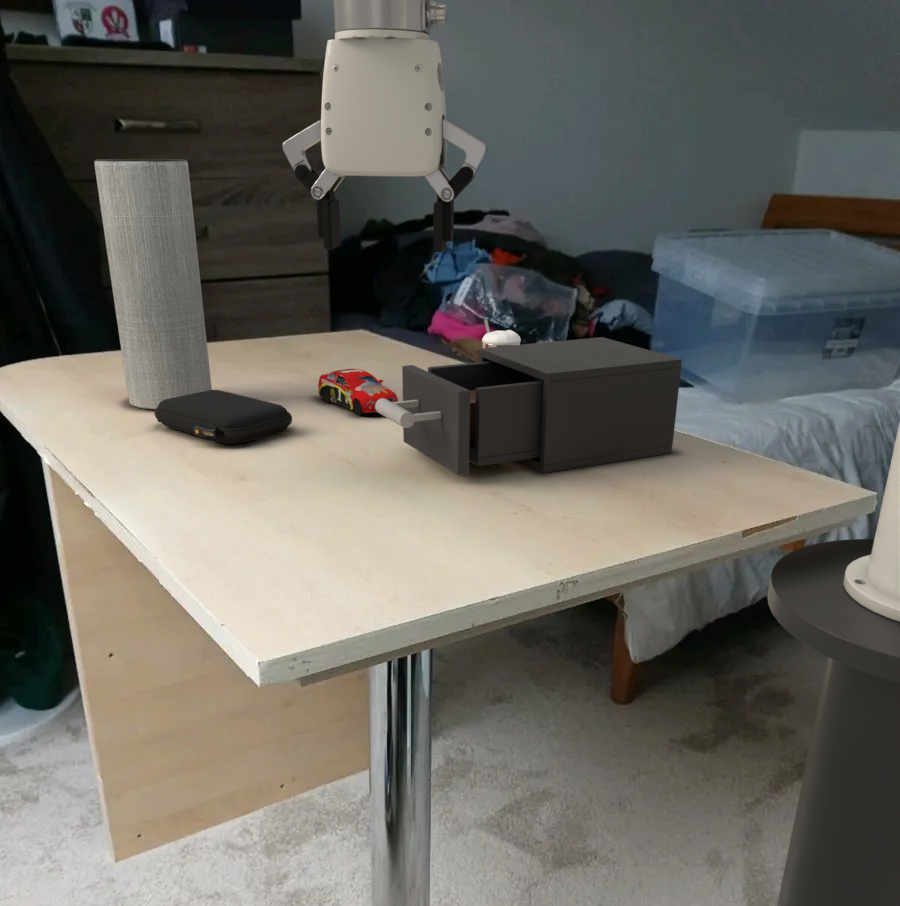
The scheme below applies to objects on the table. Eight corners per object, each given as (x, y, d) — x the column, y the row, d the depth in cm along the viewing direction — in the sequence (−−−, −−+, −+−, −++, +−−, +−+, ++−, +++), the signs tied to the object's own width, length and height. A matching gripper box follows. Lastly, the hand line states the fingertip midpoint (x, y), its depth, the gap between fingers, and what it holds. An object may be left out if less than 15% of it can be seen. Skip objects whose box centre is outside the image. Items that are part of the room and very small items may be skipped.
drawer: (415, 481, 86) (414, 396, 82) (364, 447, 96) (361, 369, 92) (587, 455, 93) (593, 376, 90) (523, 425, 103) (526, 353, 100)
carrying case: (139, 428, 105) (222, 453, 96) (136, 401, 104) (219, 424, 95) (217, 410, 112) (301, 432, 104) (214, 384, 111) (299, 404, 102)
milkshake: (498, 400, 118) (500, 317, 113) (525, 408, 114) (529, 323, 110) (469, 405, 115) (470, 321, 111) (496, 414, 111) (499, 327, 107)
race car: (405, 414, 111) (405, 380, 110) (365, 420, 109) (364, 386, 107) (351, 391, 121) (350, 360, 119) (313, 397, 118) (311, 365, 117)
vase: (223, 404, 115) (198, 160, 103) (139, 414, 110) (103, 160, 99) (199, 388, 123) (174, 159, 111) (121, 397, 118) (85, 159, 106)
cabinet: (543, 473, 91) (548, 373, 87) (477, 438, 102) (478, 348, 98) (671, 453, 97) (682, 359, 93) (596, 422, 108) (602, 337, 104)
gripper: (494, 26, 77) (488, 247, 85) (290, 27, 79) (302, 243, 87) (484, 14, 71) (479, 256, 78) (261, 16, 73) (277, 251, 80)
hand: (386, 249), depth 82 cm, fingers open, 9 cm apart
